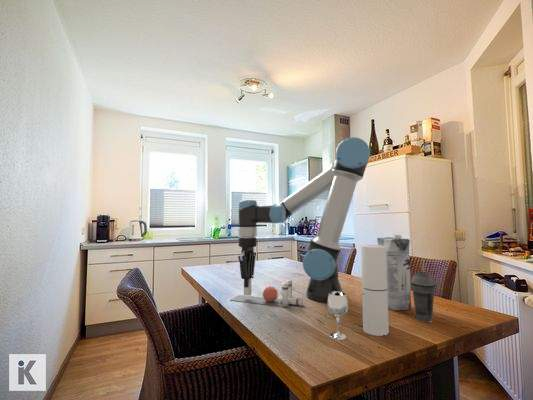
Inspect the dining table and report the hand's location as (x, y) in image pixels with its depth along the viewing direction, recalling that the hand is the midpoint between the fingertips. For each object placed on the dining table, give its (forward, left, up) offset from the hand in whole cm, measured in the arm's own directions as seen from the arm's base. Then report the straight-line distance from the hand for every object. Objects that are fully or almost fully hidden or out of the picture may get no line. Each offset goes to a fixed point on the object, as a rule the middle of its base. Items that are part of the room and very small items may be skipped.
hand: (247, 294), depth 114 cm
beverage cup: (-64, 0, -2) cm, 64 cm away
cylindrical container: (-49, +15, -2) cm, 51 cm away
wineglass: (-39, +23, -2) cm, 45 cm away
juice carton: (-56, -11, -2) cm, 57 cm away
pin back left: (-17, +3, -2) cm, 17 cm away
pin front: (-14, 0, -1) cm, 15 cm away
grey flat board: (-6, 0, -2) cm, 6 cm away
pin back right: (-17, -2, -2) cm, 17 cm away
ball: (-10, 0, +1) cm, 10 cm away
